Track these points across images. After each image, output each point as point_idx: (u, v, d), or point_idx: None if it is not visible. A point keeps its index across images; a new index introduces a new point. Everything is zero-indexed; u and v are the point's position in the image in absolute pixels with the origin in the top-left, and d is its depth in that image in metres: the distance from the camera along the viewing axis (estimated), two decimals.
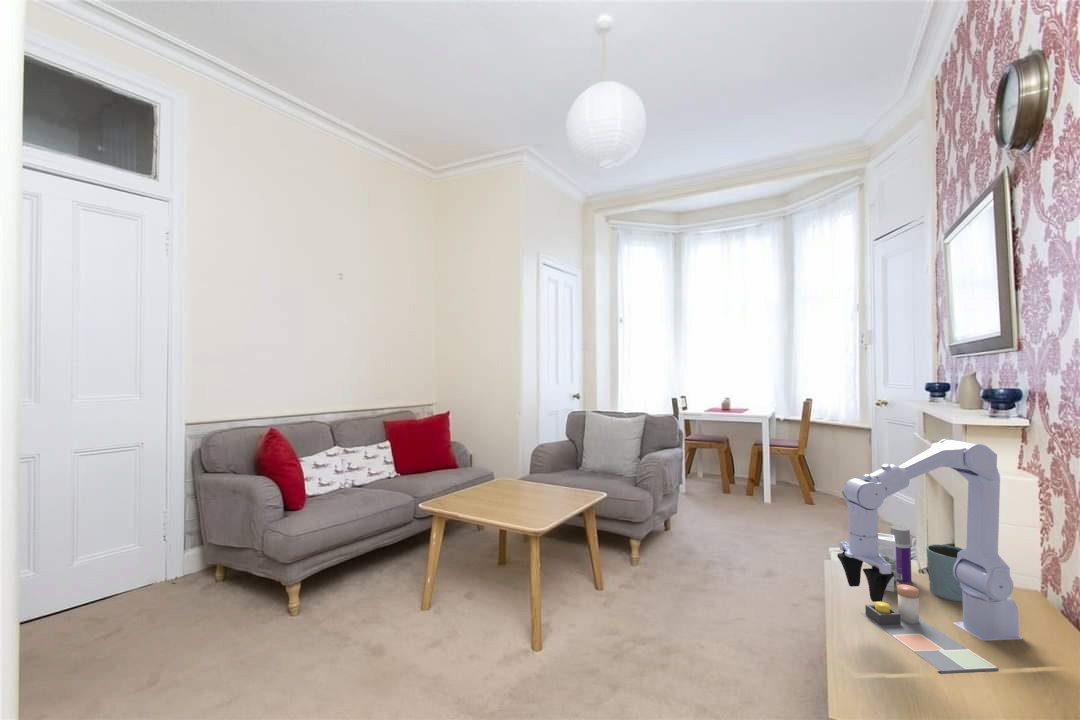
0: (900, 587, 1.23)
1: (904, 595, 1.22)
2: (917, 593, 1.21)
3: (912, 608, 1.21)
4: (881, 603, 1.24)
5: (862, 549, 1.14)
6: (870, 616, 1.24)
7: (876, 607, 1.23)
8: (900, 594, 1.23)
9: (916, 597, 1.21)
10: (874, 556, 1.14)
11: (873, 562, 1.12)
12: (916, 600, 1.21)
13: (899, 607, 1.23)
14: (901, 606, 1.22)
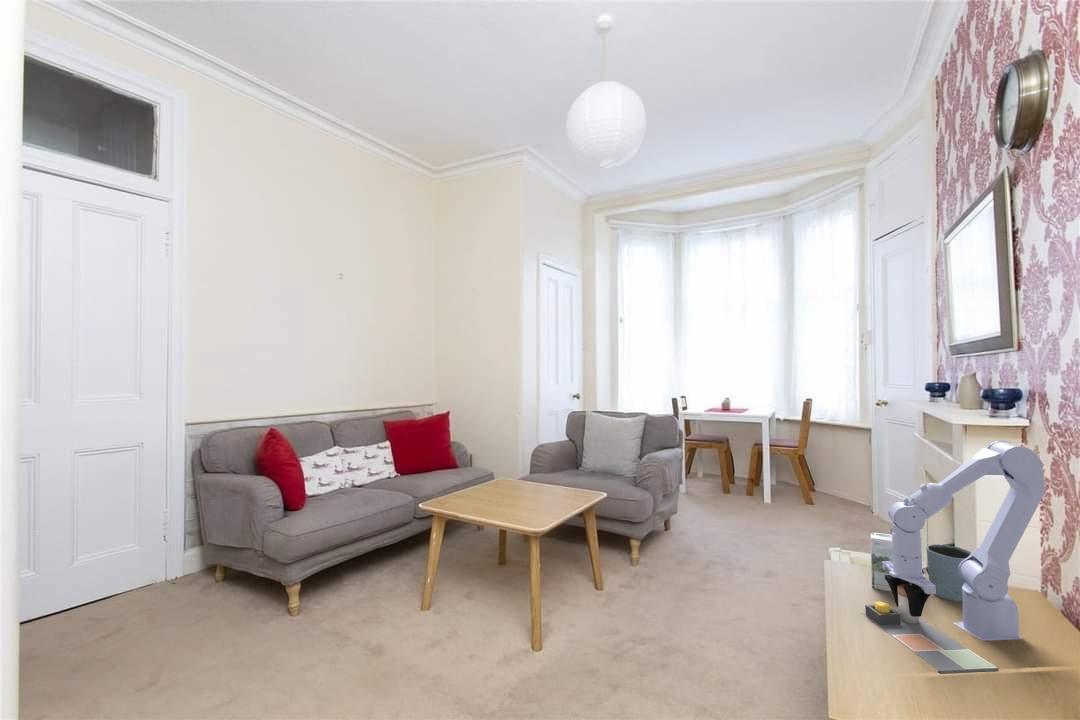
0: (900, 587, 1.23)
1: (904, 595, 1.22)
2: None
3: None
4: (881, 603, 1.24)
5: (906, 570, 1.21)
6: (870, 616, 1.24)
7: (876, 607, 1.23)
8: (900, 594, 1.23)
9: None
10: (918, 576, 1.20)
11: (918, 582, 1.18)
12: None
13: (899, 607, 1.23)
14: (901, 606, 1.22)
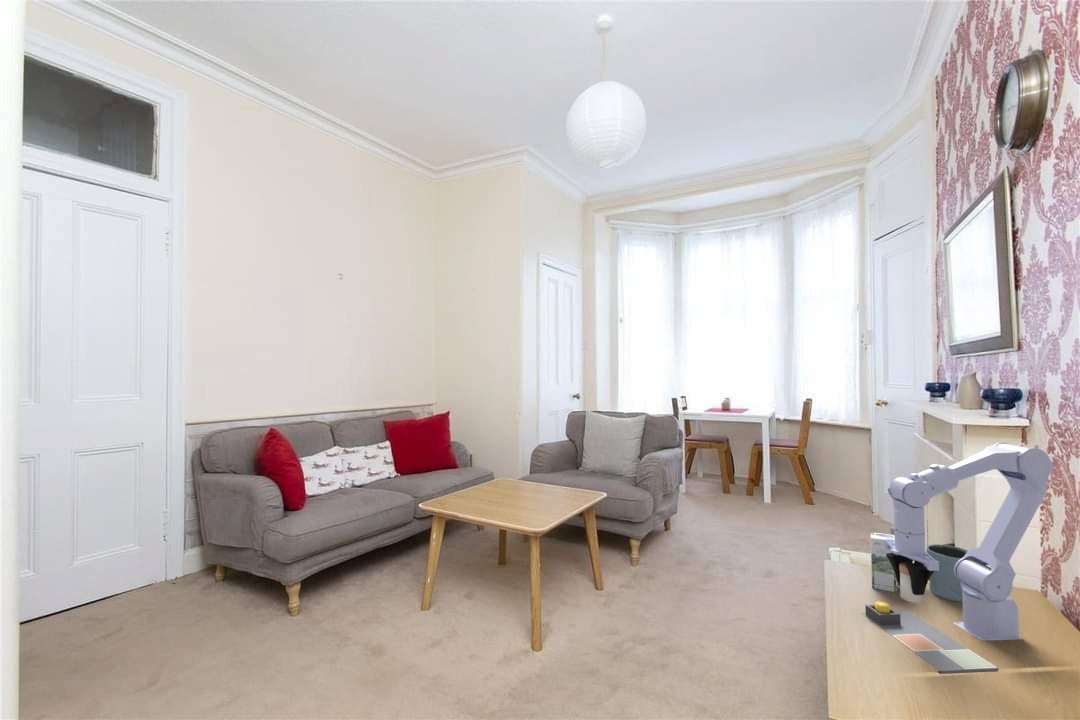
0: (902, 565, 1.19)
1: (906, 573, 1.17)
2: None
3: None
4: (881, 603, 1.24)
5: (909, 546, 1.16)
6: (870, 616, 1.24)
7: (876, 607, 1.23)
8: (902, 572, 1.18)
9: None
10: (921, 553, 1.16)
11: (920, 559, 1.14)
12: None
13: (901, 585, 1.19)
14: (903, 584, 1.18)
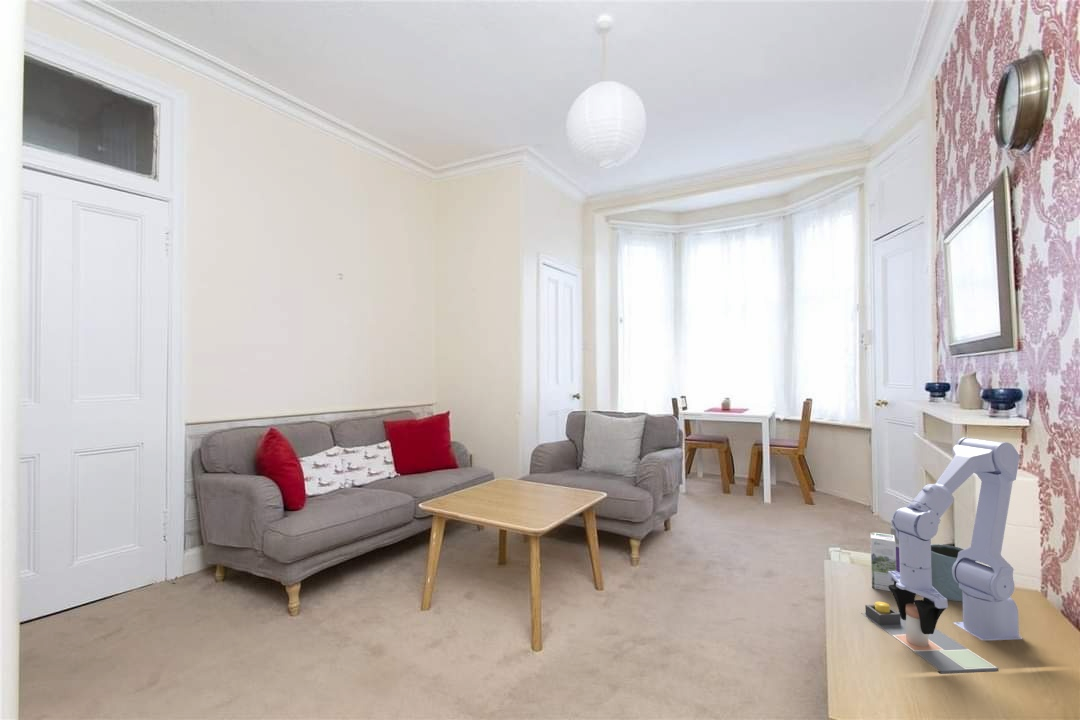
0: (909, 607, 1.13)
1: (913, 616, 1.12)
2: None
3: None
4: (881, 603, 1.24)
5: (915, 581, 1.11)
6: (870, 616, 1.24)
7: (876, 607, 1.23)
8: (909, 615, 1.12)
9: None
10: (928, 589, 1.10)
11: (928, 595, 1.08)
12: None
13: (907, 628, 1.13)
14: (910, 627, 1.12)
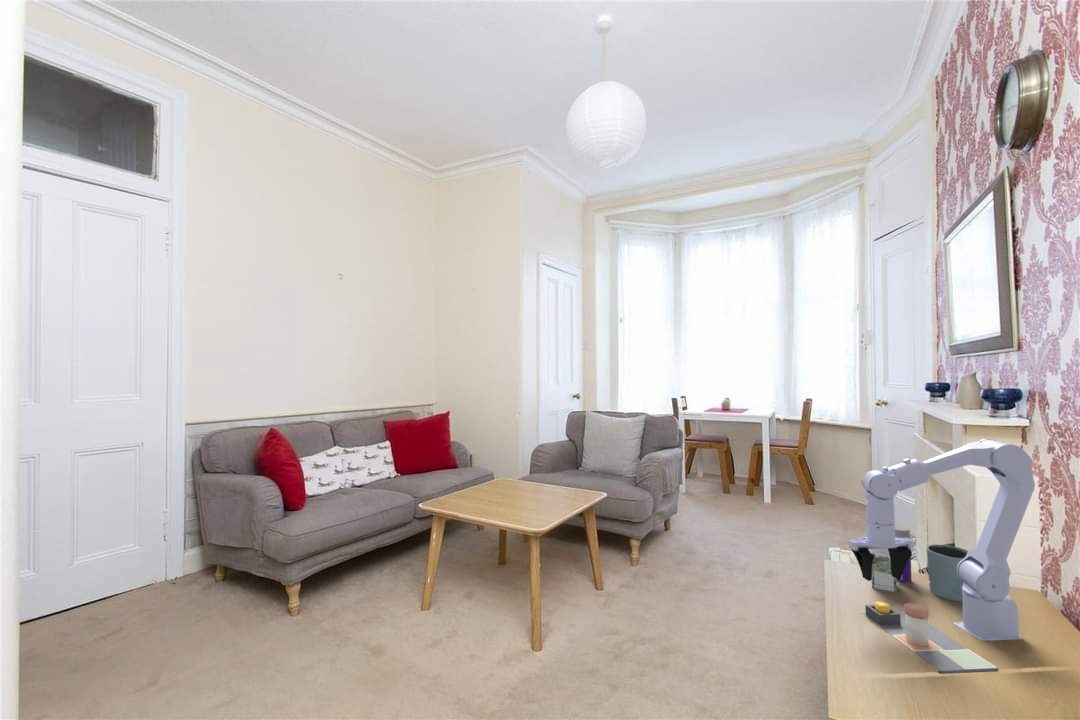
0: (908, 606, 1.14)
1: (913, 615, 1.12)
2: (927, 613, 1.11)
3: (922, 630, 1.11)
4: (881, 603, 1.24)
5: None
6: (870, 616, 1.24)
7: (876, 607, 1.23)
8: (908, 614, 1.13)
9: (926, 617, 1.11)
10: (870, 540, 1.23)
11: None
12: (926, 621, 1.11)
13: (907, 628, 1.13)
14: (909, 627, 1.13)
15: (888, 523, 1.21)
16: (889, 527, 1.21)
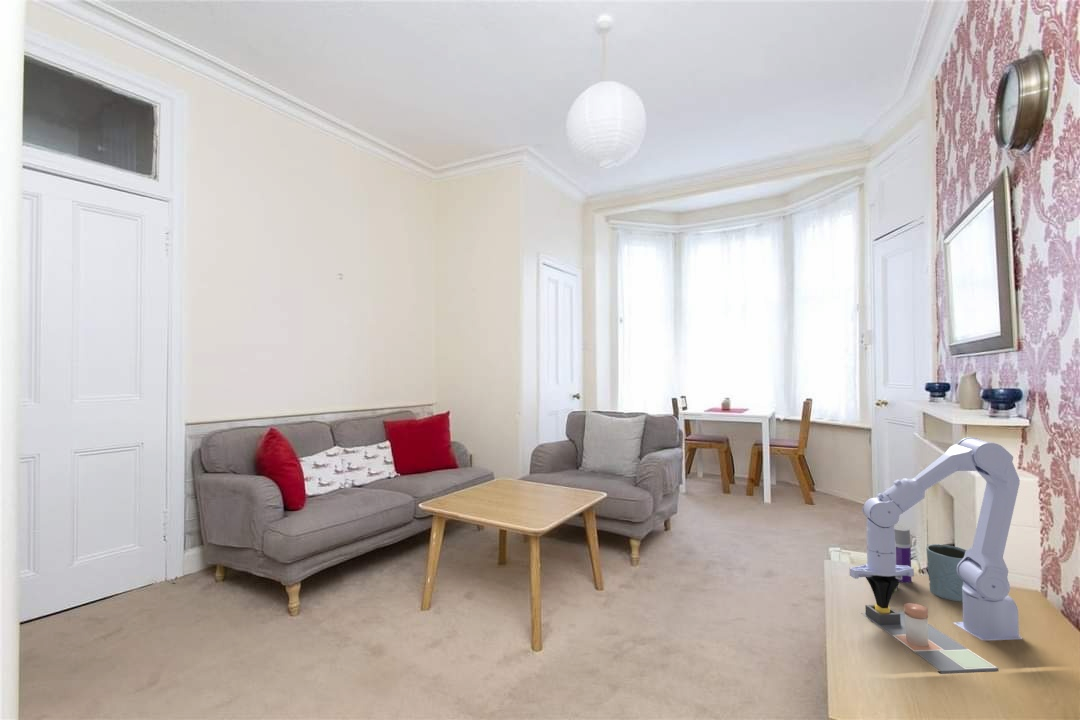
0: (907, 607, 1.13)
1: (912, 616, 1.12)
2: (926, 613, 1.11)
3: (921, 630, 1.11)
4: None
5: (867, 558, 1.25)
6: (870, 616, 1.24)
7: (876, 609, 1.23)
8: (907, 614, 1.13)
9: (925, 618, 1.11)
10: (871, 568, 1.23)
11: None
12: (925, 621, 1.11)
13: (907, 628, 1.13)
14: (909, 627, 1.13)
15: (889, 551, 1.20)
16: (890, 555, 1.20)
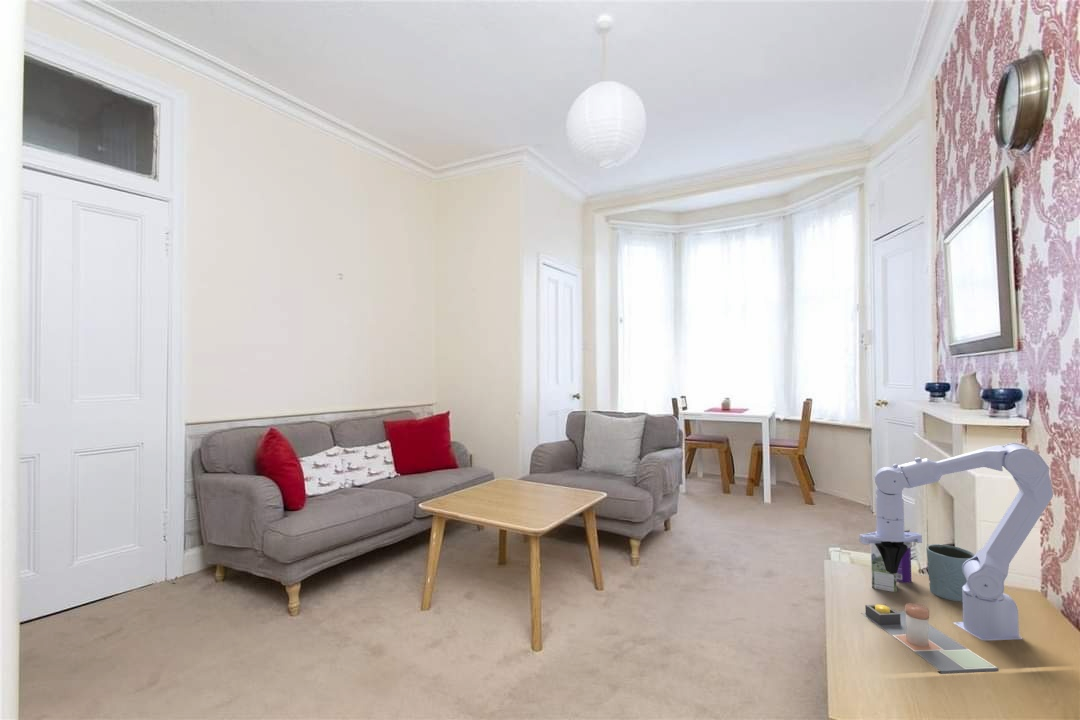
0: (909, 607, 1.13)
1: (913, 616, 1.12)
2: (927, 614, 1.11)
3: (922, 630, 1.11)
4: (881, 606, 1.24)
5: None
6: (870, 616, 1.24)
7: (876, 610, 1.23)
8: (908, 614, 1.13)
9: (926, 618, 1.11)
10: (880, 535, 1.26)
11: None
12: (926, 621, 1.11)
13: (907, 628, 1.13)
14: (909, 627, 1.13)
15: (894, 518, 1.24)
16: (899, 522, 1.24)
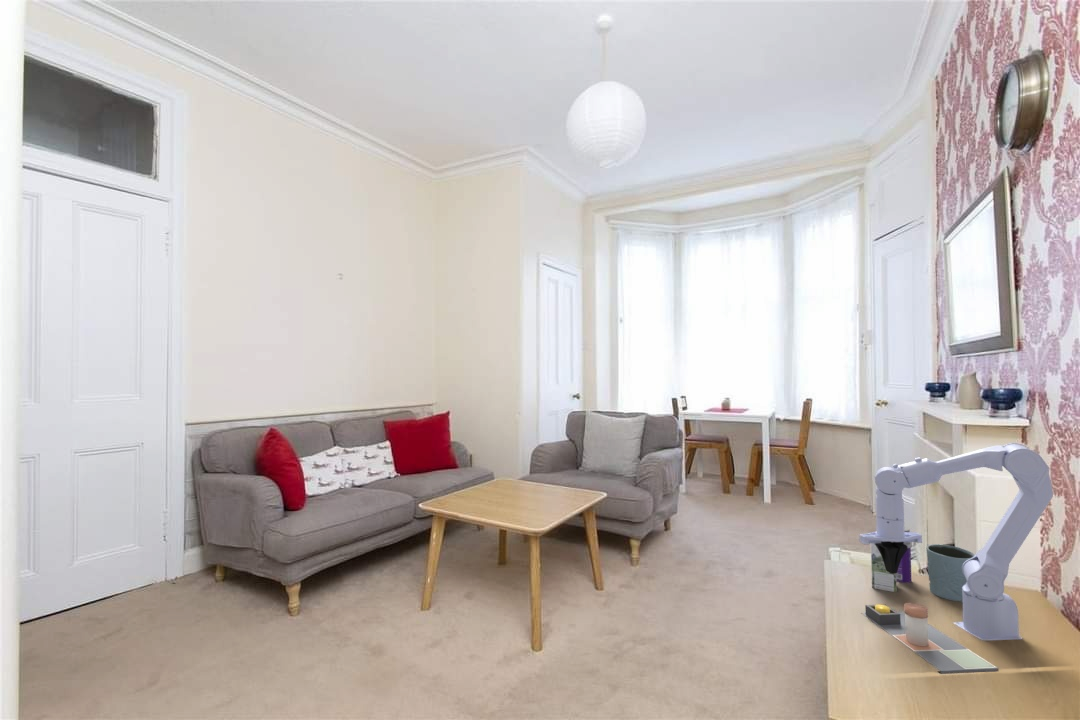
0: (907, 606, 1.14)
1: (911, 615, 1.12)
2: (926, 613, 1.11)
3: (921, 630, 1.11)
4: (881, 606, 1.24)
5: None
6: (870, 616, 1.24)
7: (876, 610, 1.23)
8: (907, 614, 1.13)
9: (925, 617, 1.11)
10: (880, 535, 1.26)
11: None
12: (925, 620, 1.11)
13: (906, 628, 1.13)
14: (908, 627, 1.13)
15: (894, 518, 1.24)
16: (899, 522, 1.24)
